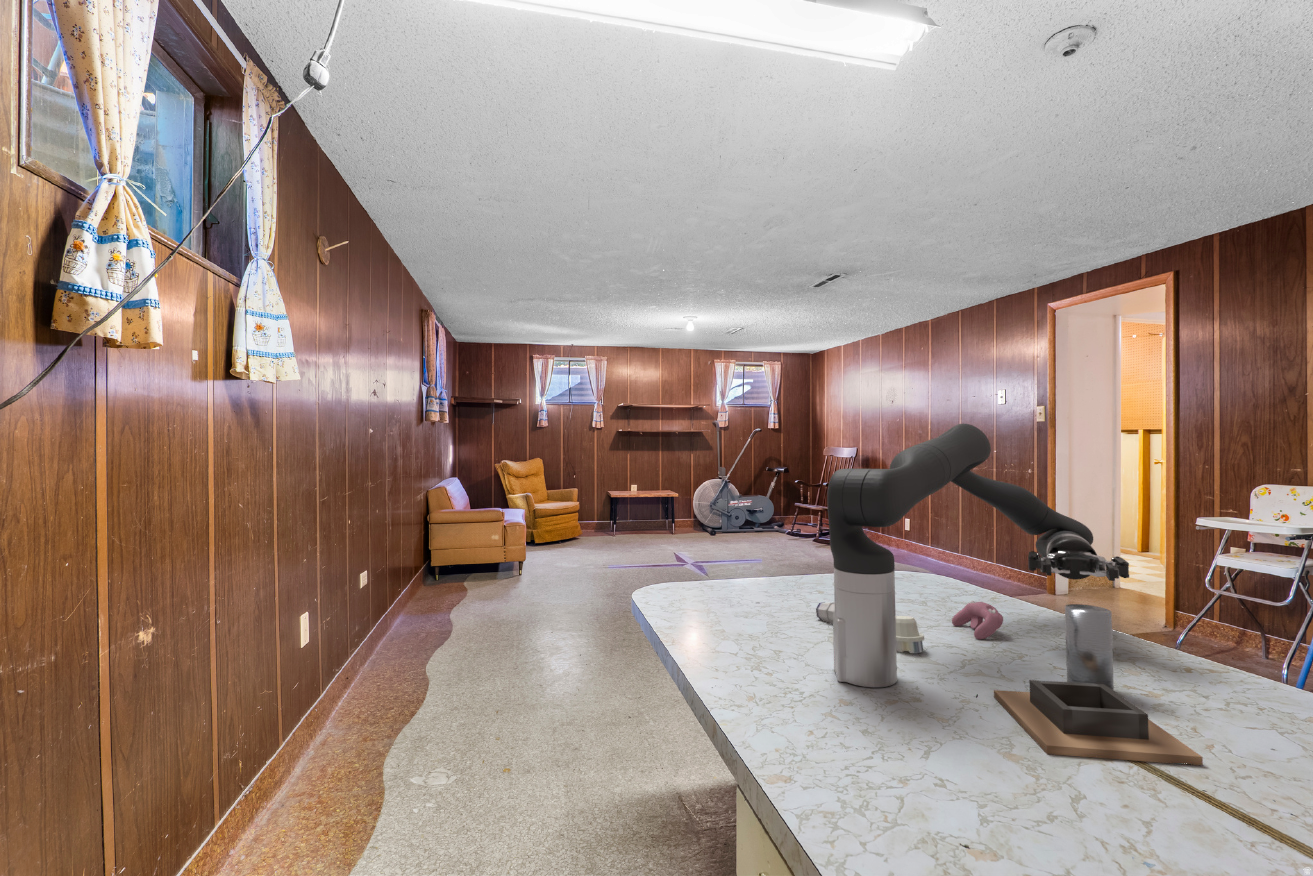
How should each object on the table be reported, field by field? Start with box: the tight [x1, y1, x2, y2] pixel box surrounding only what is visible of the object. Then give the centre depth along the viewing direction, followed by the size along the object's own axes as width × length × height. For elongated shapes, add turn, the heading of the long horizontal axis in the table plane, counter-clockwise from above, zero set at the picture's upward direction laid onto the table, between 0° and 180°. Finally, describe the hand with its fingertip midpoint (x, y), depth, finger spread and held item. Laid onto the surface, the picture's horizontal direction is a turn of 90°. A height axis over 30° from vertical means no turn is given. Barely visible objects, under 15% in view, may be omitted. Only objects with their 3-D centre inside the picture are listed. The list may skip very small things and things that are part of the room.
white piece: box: [815, 601, 925, 654], centre depth 113 cm, size 5×7×25 cm
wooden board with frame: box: [993, 679, 1204, 766], centre depth 75 cm, size 16×16×4 cm
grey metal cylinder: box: [1064, 603, 1115, 691], centre depth 86 cm, size 6×6×12 cm
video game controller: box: [951, 600, 1004, 641], centre depth 114 cm, size 10×5×7 cm, turn 0°
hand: (1079, 572), depth 96 cm, fingers open, 8 cm apart
